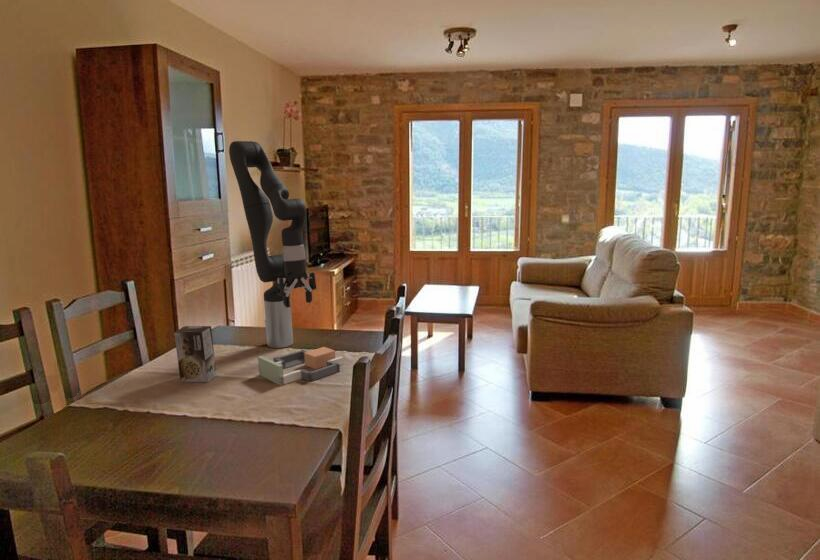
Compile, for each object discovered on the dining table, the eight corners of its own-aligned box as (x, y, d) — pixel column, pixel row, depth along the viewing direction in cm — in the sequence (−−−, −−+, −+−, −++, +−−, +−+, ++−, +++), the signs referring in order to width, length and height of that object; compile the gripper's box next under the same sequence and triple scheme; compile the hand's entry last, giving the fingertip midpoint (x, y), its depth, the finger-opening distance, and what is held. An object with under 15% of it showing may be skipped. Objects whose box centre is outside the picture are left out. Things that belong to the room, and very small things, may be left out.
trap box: (253, 371, 170) (251, 354, 168) (315, 353, 186) (314, 336, 185) (287, 389, 155) (286, 369, 154) (351, 367, 171) (350, 349, 170)
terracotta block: (304, 365, 175) (304, 352, 174) (324, 359, 180) (324, 346, 179) (315, 370, 170) (314, 356, 170) (335, 363, 176) (334, 350, 175)
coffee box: (217, 374, 168) (212, 325, 165) (207, 382, 162) (202, 331, 158) (189, 374, 169) (184, 325, 166) (179, 382, 163) (173, 331, 159)
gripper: (305, 255, 188) (309, 299, 191) (269, 260, 178) (274, 307, 181) (318, 256, 183) (321, 302, 186) (281, 261, 173) (286, 310, 176)
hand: (298, 304), depth 183 cm, fingers open, 8 cm apart
